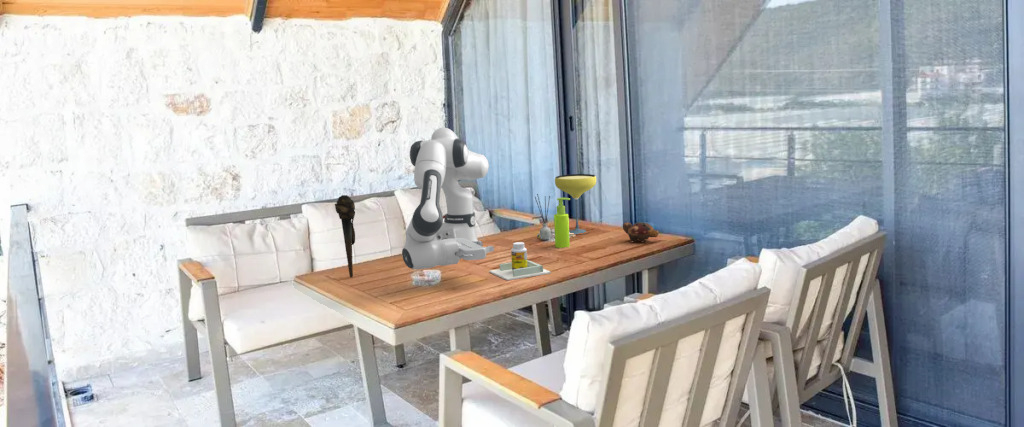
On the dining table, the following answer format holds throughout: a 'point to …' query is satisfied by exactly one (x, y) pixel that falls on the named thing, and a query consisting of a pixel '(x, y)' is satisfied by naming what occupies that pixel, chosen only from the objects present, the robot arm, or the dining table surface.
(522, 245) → the supplement bottle
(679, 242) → the dining table surface
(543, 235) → the reed diffuser
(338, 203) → the decorative torch
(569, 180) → the cocktail glass
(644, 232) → the decorative turtle
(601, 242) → the dining table surface
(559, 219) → the soap dispenser
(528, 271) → the u rest
